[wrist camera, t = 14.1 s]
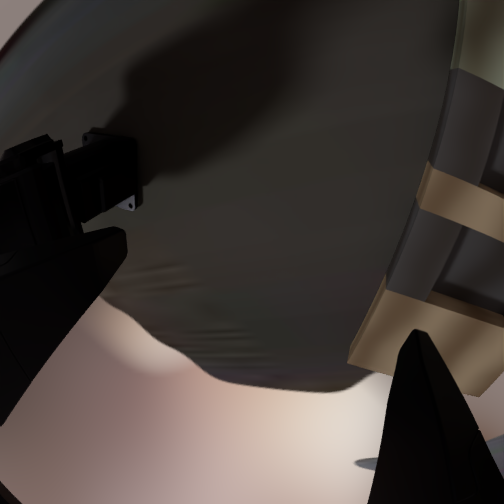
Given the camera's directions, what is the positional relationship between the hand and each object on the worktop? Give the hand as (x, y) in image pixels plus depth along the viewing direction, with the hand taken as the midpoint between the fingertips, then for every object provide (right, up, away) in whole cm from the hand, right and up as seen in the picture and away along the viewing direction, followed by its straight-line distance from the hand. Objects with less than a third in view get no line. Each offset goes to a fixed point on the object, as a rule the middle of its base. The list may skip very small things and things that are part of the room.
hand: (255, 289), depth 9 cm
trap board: (+17, +3, +7) cm, 18 cm away
